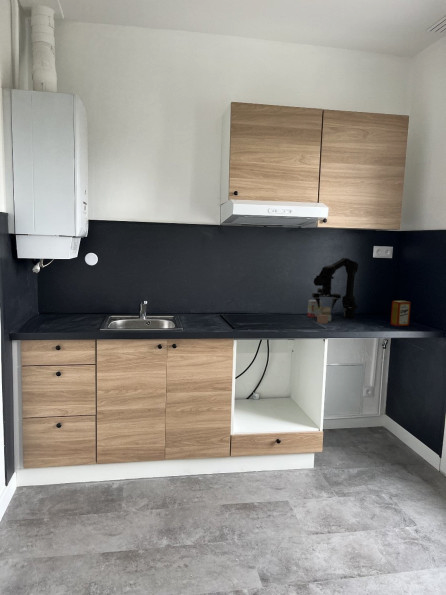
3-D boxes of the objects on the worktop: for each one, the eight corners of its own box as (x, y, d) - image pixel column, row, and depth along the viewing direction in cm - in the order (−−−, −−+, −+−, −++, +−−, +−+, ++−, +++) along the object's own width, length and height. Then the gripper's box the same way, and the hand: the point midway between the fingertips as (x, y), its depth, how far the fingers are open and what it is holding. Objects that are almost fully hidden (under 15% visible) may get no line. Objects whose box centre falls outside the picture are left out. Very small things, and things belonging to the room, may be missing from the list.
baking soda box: (397, 326, 292) (399, 301, 290) (390, 324, 298) (392, 300, 297) (409, 325, 296) (410, 301, 294) (401, 323, 302) (403, 300, 300)
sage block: (329, 319, 311) (329, 314, 311) (330, 321, 304) (331, 315, 304) (319, 319, 312) (319, 313, 311) (320, 321, 305) (320, 315, 304)
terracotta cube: (323, 322, 300) (324, 314, 299) (327, 323, 295) (328, 315, 295) (316, 322, 298) (317, 314, 298) (320, 323, 294) (321, 316, 293)
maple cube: (330, 315, 305) (330, 307, 305) (322, 315, 305) (323, 307, 304) (328, 314, 310) (328, 306, 309) (320, 313, 310) (321, 306, 309)
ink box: (310, 317, 317) (310, 300, 316) (307, 316, 322) (308, 299, 320) (321, 317, 319) (322, 300, 318) (318, 316, 324) (319, 299, 322)
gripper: (336, 284, 314) (335, 306, 315) (310, 284, 312) (309, 306, 314) (341, 286, 303) (340, 309, 304) (314, 285, 301) (313, 308, 303)
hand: (325, 308), depth 307 cm, fingers open, 9 cm apart
